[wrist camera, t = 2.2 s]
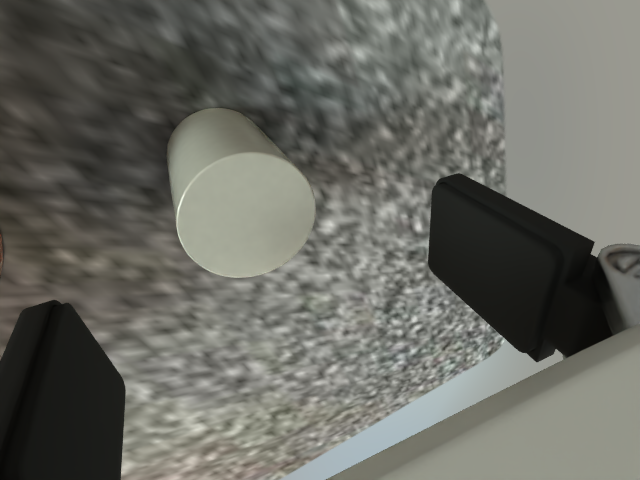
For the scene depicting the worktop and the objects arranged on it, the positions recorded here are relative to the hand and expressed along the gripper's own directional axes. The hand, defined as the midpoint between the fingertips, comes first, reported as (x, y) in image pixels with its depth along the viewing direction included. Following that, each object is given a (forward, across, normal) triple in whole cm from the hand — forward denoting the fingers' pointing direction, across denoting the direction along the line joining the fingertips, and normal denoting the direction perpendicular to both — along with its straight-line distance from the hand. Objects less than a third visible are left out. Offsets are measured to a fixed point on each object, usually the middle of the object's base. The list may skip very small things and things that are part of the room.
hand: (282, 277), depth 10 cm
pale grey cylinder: (+9, 0, 0) cm, 9 cm away
